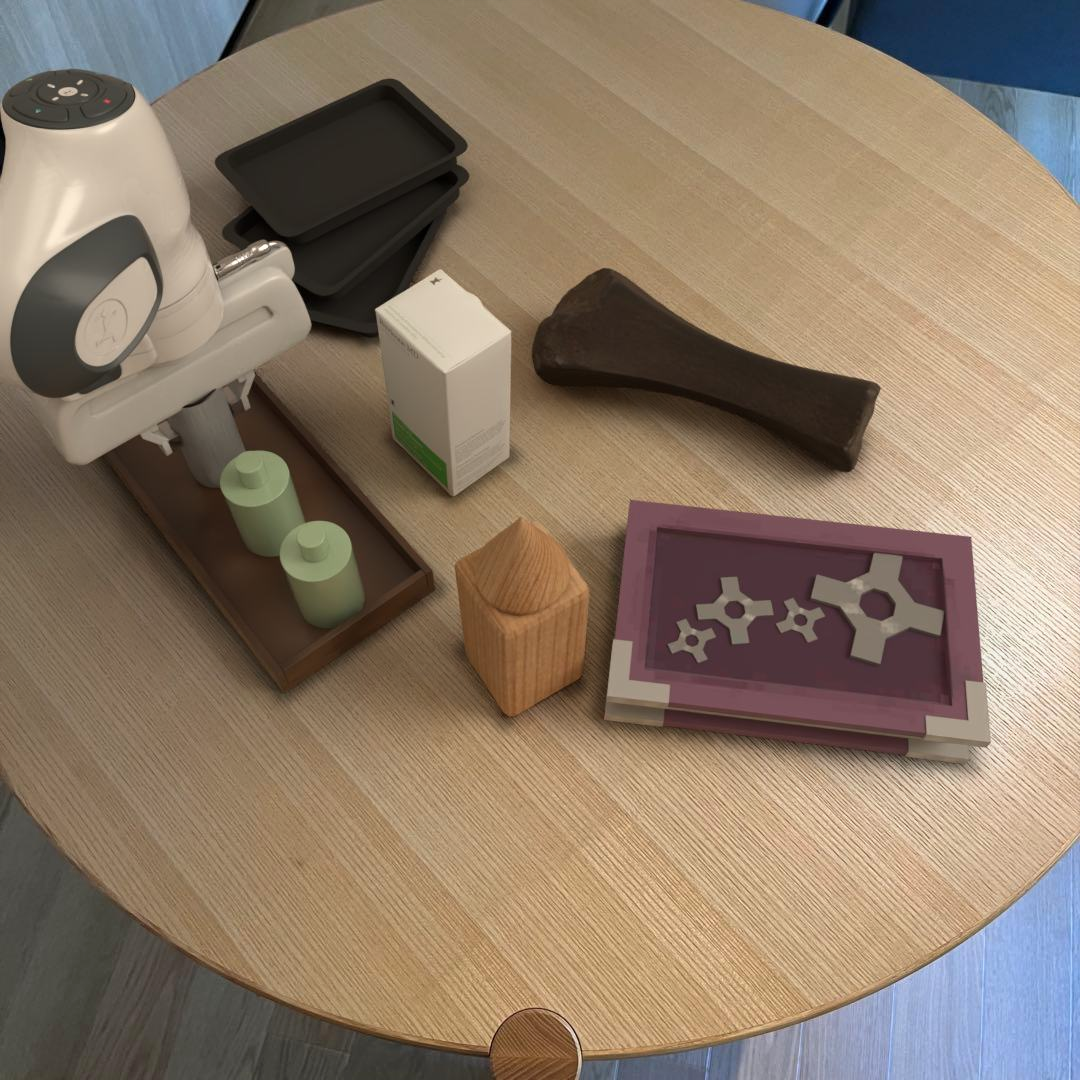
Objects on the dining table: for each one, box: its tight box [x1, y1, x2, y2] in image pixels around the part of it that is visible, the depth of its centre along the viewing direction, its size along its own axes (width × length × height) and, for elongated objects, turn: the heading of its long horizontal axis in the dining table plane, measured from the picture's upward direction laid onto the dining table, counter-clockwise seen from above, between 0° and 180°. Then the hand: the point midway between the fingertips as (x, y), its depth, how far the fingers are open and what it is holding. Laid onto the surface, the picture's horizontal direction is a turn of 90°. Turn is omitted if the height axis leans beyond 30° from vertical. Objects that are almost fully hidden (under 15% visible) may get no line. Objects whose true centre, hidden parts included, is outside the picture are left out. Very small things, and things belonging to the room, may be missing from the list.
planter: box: [167, 388, 246, 488], centre depth 86 cm, size 4×4×10 cm
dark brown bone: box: [531, 267, 882, 473], centre depth 93 cm, size 11×10×28 cm
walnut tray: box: [102, 370, 436, 694], centre depth 88 cm, size 14×30×3 cm, turn 39°
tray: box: [214, 78, 470, 338], centre depth 105 cm, size 30×23×5 cm
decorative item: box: [454, 516, 590, 718], centre depth 74 cm, size 7×7×20 cm
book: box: [603, 499, 992, 765], centre depth 81 cm, size 25×16×5 cm, turn 82°
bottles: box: [220, 451, 365, 629], centre depth 82 cm, size 5×13×9 cm, turn 40°
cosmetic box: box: [375, 268, 512, 497], centre depth 86 cm, size 8×7×16 cm
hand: (204, 427), depth 86 cm, fingers closed on planter, 4 cm apart
